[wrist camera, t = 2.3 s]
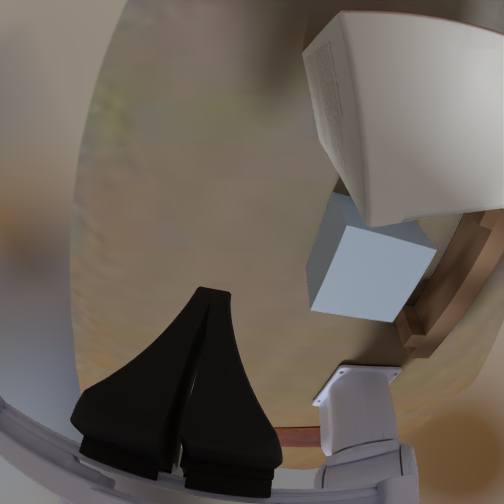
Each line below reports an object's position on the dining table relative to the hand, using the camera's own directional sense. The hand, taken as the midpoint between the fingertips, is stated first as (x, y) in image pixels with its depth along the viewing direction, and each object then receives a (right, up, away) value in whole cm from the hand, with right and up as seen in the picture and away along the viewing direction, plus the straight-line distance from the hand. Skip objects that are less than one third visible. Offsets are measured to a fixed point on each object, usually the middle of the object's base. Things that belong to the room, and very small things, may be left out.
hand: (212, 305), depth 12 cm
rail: (+18, +1, +7) cm, 19 cm away
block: (+9, +3, +7) cm, 12 cm away
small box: (+9, +12, +1) cm, 14 cm away
